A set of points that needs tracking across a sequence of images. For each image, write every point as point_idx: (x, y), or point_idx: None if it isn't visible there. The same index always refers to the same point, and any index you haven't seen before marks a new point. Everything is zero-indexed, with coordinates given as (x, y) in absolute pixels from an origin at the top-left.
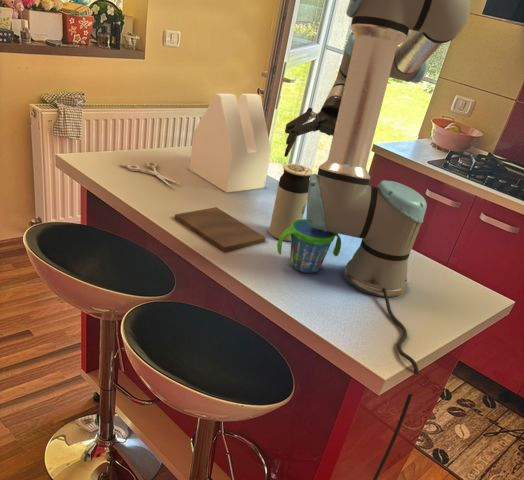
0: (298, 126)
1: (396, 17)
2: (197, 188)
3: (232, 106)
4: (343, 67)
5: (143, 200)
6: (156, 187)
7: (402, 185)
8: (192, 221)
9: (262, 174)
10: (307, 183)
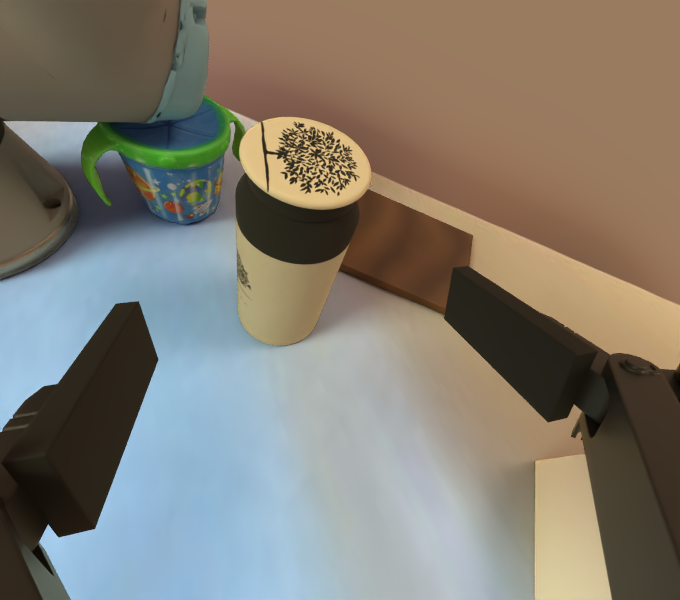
0: (677, 417)
1: None
2: (578, 414)
3: None
4: None
5: (548, 271)
6: (598, 340)
7: None
8: (436, 227)
9: None
10: (245, 172)
